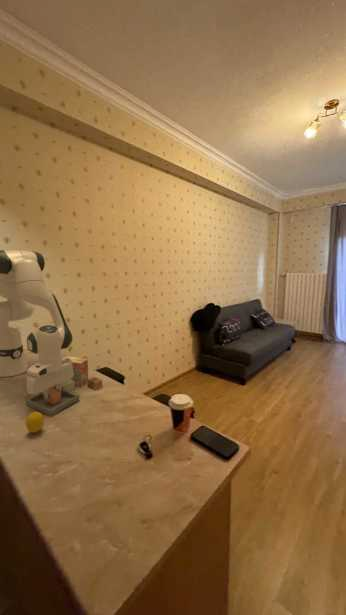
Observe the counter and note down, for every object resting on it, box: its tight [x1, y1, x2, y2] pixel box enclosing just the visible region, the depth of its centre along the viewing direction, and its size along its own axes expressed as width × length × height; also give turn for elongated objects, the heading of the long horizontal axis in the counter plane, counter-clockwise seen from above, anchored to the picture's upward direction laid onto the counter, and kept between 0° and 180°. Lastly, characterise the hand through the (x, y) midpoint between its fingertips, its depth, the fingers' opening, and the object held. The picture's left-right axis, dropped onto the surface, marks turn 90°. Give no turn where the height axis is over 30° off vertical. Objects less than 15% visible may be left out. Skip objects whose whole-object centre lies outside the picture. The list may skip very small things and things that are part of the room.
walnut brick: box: [86, 376, 103, 391], centre depth 129 cm, size 6×4×4 cm, turn 57°
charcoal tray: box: [25, 386, 80, 418], centre depth 114 cm, size 16×14×2 cm
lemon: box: [25, 411, 45, 434], centre depth 94 cm, size 6×6×8 cm
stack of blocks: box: [62, 355, 89, 388], centre depth 135 cm, size 21×6×12 cm, turn 73°
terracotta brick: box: [44, 387, 61, 405], centre depth 114 cm, size 6×4×4 cm, turn 60°
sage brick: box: [61, 379, 76, 392], centre depth 126 cm, size 4×6×4 cm, turn 147°
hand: (52, 395), depth 114 cm, fingers closed on terracotta brick, 4 cm apart
